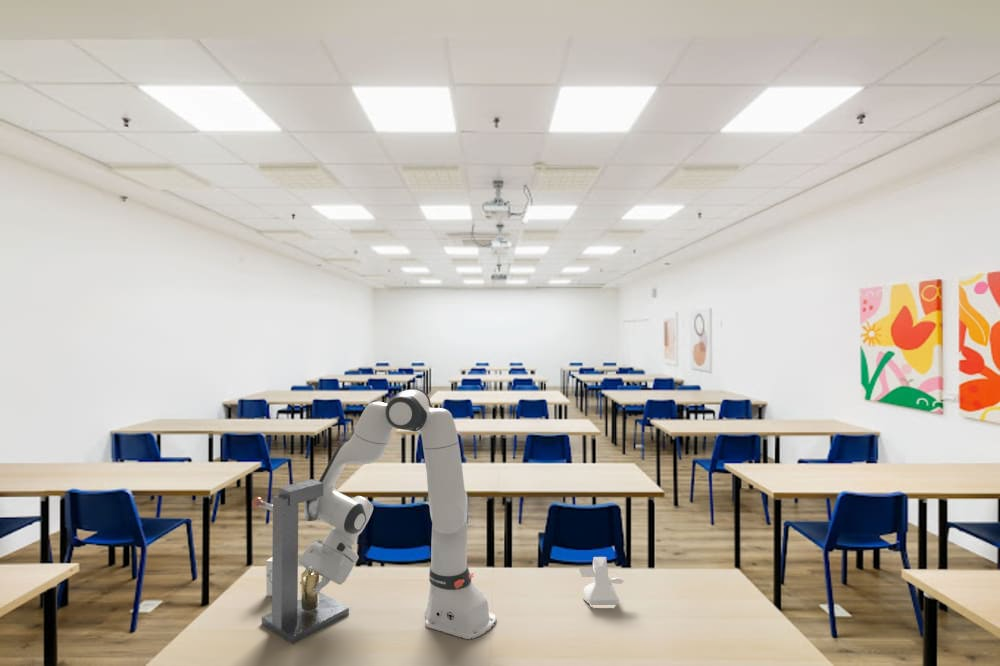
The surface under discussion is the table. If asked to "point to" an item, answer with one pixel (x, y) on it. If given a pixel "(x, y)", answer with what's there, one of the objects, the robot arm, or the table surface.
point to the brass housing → (309, 589)
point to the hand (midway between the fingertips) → (308, 588)
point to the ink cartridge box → (269, 576)
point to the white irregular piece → (600, 584)
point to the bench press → (294, 565)
